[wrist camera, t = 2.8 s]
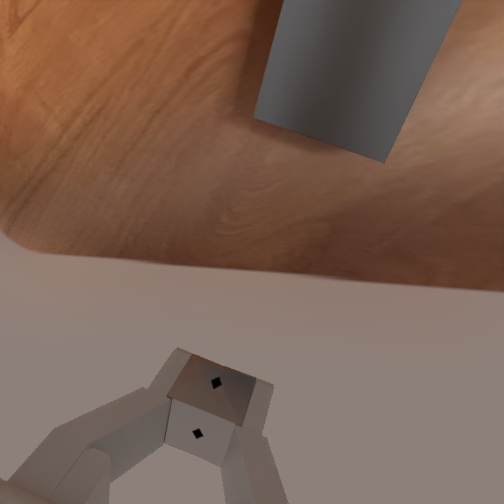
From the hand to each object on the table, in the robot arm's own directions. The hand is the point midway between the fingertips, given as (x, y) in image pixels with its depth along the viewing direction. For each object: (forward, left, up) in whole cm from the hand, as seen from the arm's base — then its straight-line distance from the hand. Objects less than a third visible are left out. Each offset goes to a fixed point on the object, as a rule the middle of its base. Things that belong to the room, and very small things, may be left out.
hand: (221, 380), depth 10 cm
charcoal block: (0, -11, -17) cm, 20 cm away
